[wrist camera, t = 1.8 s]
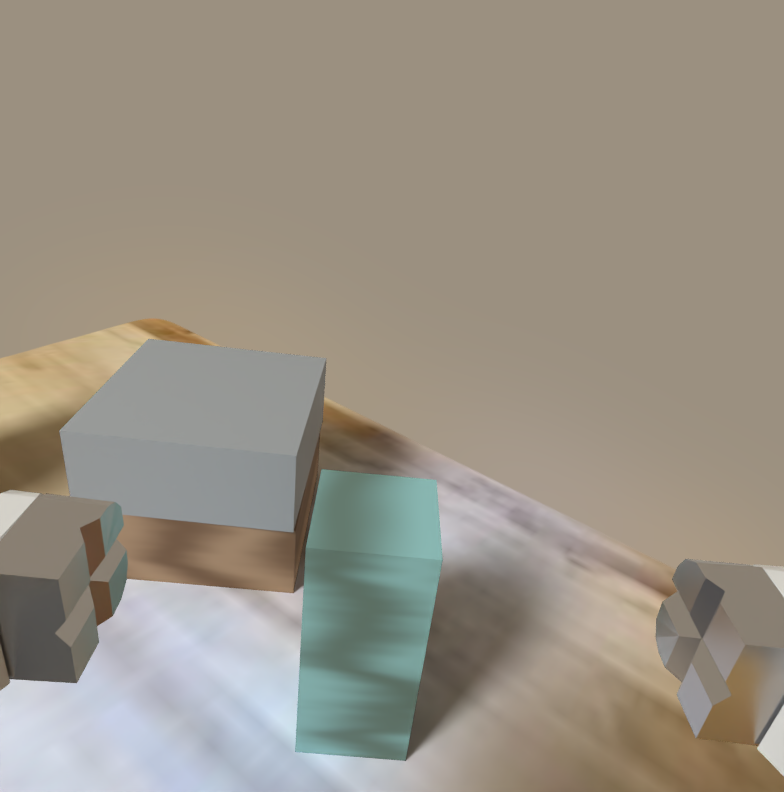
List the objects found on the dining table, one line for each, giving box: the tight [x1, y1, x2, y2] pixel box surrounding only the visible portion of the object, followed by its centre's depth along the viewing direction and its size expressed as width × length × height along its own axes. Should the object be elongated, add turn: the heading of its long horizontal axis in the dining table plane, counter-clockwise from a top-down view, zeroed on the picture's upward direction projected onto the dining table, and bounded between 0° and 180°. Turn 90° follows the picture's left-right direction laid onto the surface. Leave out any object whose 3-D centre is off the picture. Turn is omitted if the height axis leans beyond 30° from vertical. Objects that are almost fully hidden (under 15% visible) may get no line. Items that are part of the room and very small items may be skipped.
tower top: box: [59, 339, 326, 532], centre depth 39 cm, size 12×12×5 cm
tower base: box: [116, 433, 320, 593], centre depth 41 cm, size 12×12×5 cm
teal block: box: [295, 469, 443, 761], centre depth 28 cm, size 5×5×12 cm
